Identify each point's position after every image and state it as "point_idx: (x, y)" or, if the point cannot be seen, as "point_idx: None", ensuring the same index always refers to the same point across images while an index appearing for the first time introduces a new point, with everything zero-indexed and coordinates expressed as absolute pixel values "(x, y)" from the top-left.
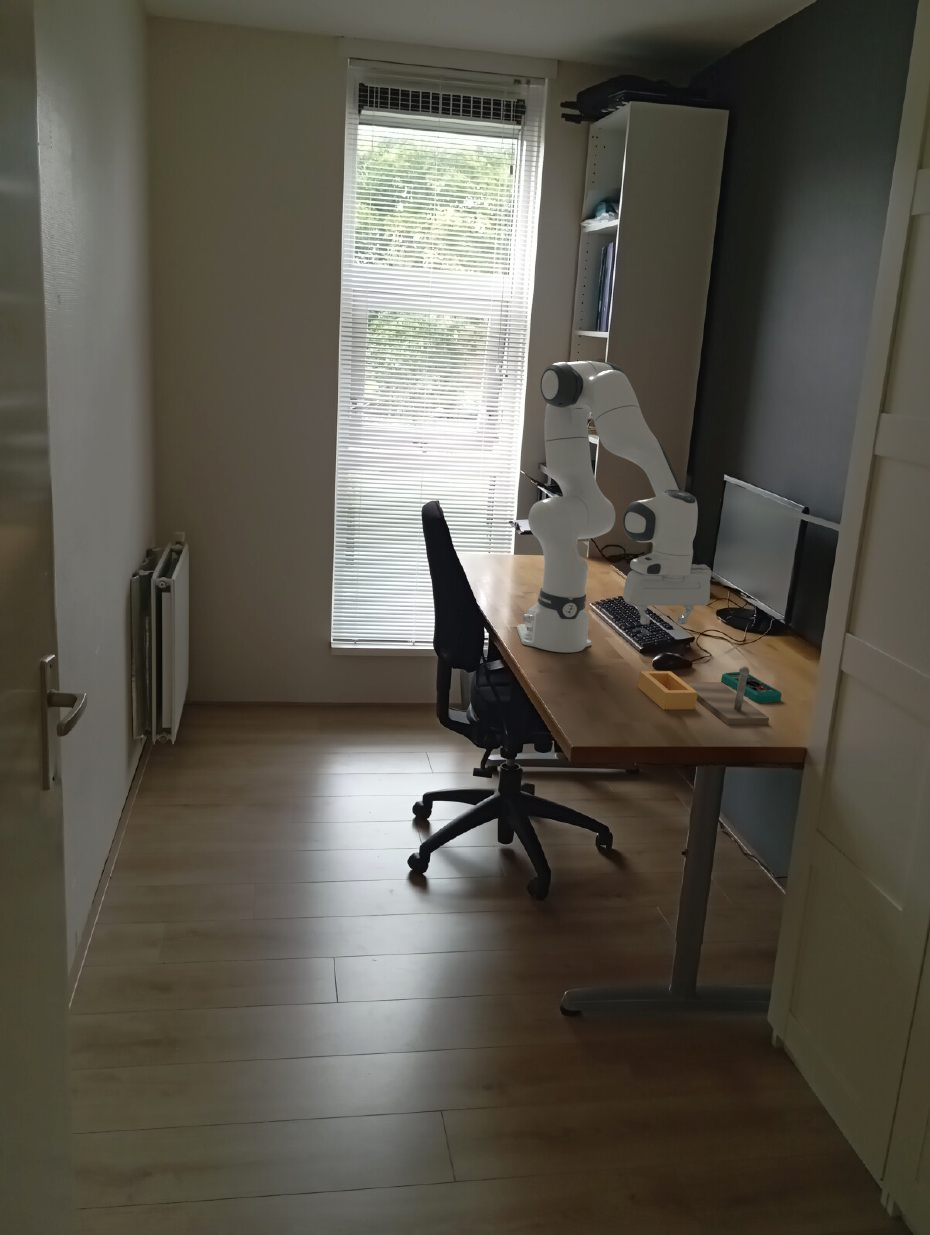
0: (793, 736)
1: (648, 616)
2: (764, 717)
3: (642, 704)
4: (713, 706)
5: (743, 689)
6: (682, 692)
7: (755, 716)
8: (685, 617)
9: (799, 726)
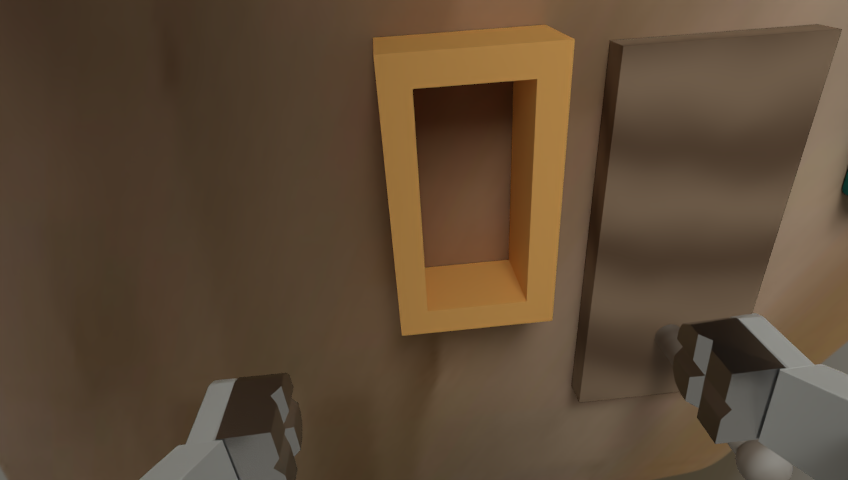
0: None
1: (281, 473)
2: None
3: (328, 248)
4: (591, 318)
5: None
6: (481, 326)
7: None
8: (758, 435)
9: None
